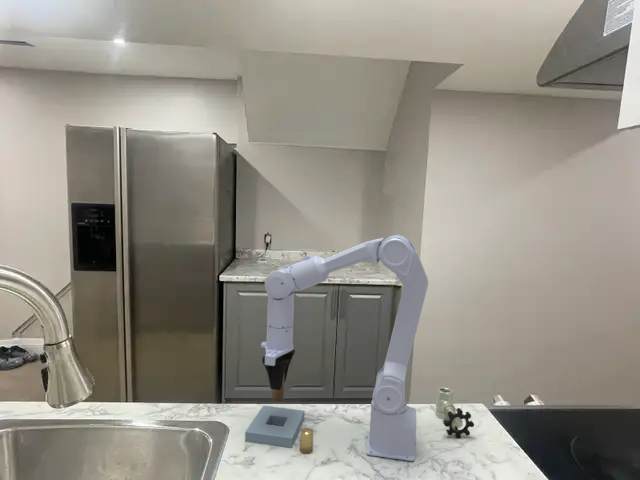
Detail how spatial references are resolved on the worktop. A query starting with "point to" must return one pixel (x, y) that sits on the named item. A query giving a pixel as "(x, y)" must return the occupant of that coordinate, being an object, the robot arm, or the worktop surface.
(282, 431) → the hole plate
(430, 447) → the worktop surface
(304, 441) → the brass pin
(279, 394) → the walnut pin
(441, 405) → the valve
